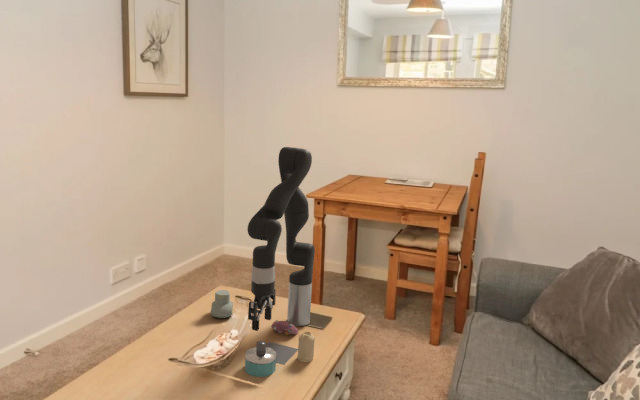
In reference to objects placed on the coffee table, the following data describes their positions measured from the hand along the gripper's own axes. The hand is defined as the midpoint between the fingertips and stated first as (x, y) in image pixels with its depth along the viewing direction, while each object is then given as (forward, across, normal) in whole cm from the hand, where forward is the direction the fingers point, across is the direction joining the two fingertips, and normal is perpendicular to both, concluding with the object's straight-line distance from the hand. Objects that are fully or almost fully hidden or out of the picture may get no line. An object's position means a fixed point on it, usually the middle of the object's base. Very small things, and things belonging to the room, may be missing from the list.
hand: (261, 324), depth 171 cm
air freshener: (+17, -30, -34) cm, 48 cm away
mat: (+17, -12, 0) cm, 20 cm away
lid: (+11, 0, 0) cm, 11 cm away
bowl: (+16, 0, 0) cm, 16 cm away
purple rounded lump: (+17, -27, -4) cm, 32 cm away
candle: (+17, -13, +11) cm, 24 cm away
